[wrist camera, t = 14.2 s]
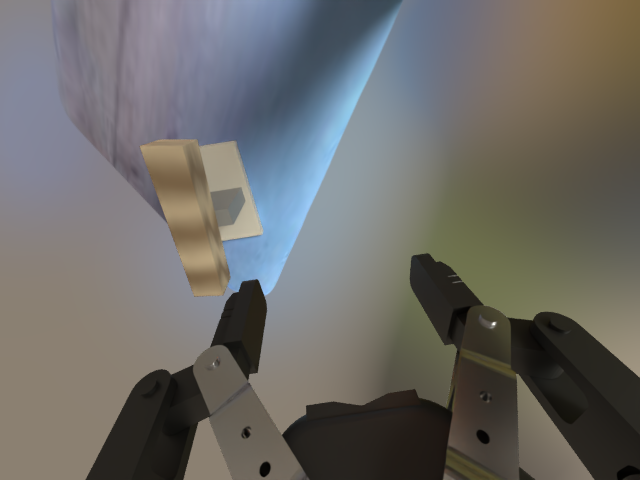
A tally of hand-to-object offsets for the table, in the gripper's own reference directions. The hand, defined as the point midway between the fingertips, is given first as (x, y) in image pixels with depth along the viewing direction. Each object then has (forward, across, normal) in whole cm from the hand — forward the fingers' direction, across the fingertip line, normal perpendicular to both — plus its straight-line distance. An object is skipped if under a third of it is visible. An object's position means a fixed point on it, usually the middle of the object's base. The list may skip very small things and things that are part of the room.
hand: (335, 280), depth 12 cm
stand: (+30, +16, +4) cm, 34 cm away
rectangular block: (+20, +16, +4) cm, 26 cm away
